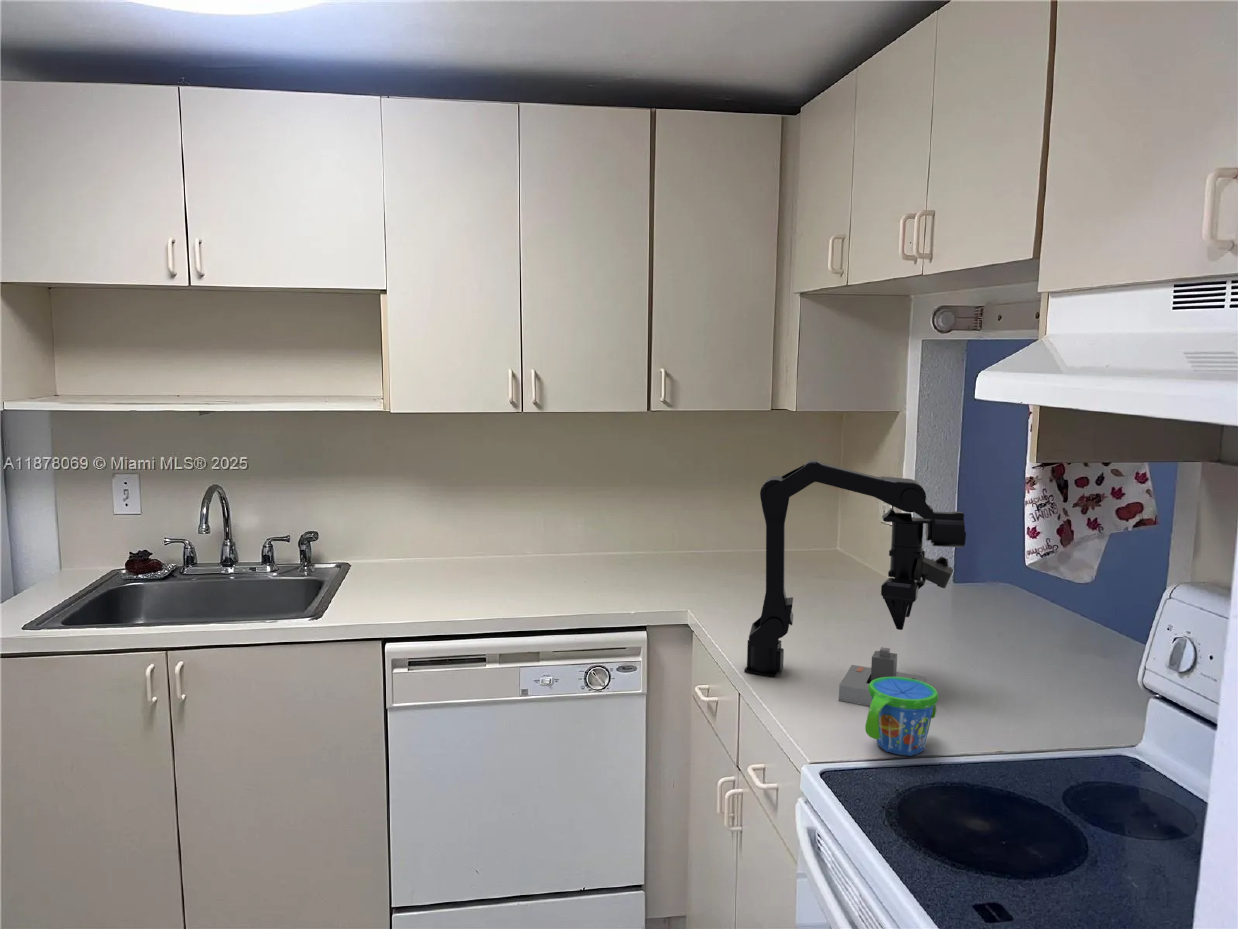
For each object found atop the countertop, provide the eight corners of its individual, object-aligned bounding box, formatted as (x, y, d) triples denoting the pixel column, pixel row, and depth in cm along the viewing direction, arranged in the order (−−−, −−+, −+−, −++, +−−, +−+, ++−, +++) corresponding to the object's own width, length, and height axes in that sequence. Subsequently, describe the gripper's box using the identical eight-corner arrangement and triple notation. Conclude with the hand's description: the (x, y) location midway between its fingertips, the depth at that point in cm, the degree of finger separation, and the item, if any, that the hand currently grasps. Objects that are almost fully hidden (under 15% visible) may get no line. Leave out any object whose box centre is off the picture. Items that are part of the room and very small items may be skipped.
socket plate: (838, 700, 158) (839, 684, 157) (851, 679, 169) (851, 664, 168) (917, 714, 152) (918, 698, 151) (925, 691, 162) (926, 676, 162)
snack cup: (908, 725, 147) (911, 669, 146) (959, 749, 138) (962, 689, 137) (841, 744, 140) (844, 685, 138) (890, 771, 130) (893, 708, 129)
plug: (870, 698, 159) (872, 650, 158) (873, 690, 163) (875, 644, 162) (892, 702, 157) (894, 654, 156) (895, 694, 161) (897, 647, 160)
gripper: (946, 558, 152) (942, 643, 154) (955, 539, 169) (951, 616, 170) (882, 552, 157) (878, 634, 159) (897, 534, 174) (894, 608, 175)
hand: (903, 623), depth 166 cm, fingers open, 9 cm apart
